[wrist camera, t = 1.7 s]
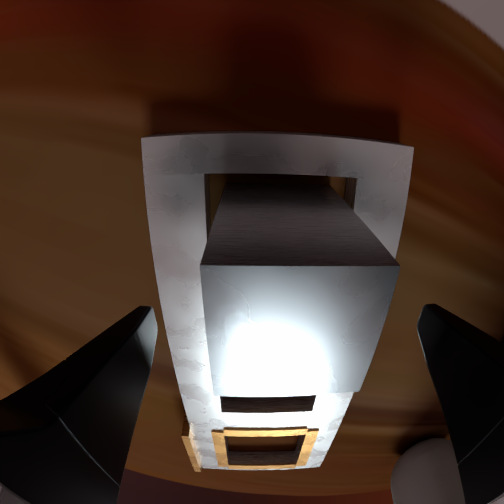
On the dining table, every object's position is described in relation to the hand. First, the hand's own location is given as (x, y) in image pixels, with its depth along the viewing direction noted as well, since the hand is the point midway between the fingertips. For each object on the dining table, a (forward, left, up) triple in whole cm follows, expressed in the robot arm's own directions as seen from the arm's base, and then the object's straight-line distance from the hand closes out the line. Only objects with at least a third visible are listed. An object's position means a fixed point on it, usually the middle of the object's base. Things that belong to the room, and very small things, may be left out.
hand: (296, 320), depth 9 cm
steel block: (0, 0, -7) cm, 7 cm away
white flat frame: (0, +10, -7) cm, 12 cm away
